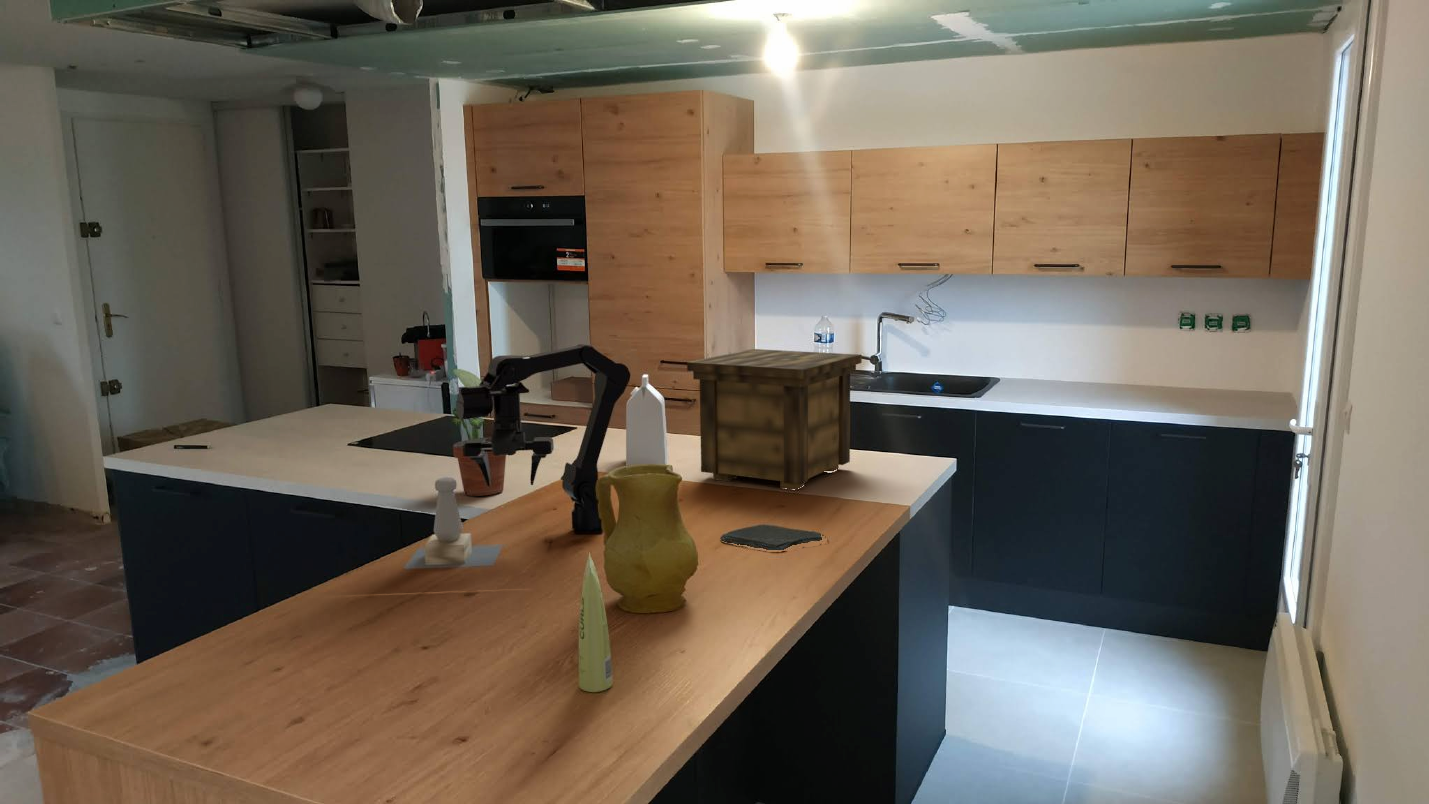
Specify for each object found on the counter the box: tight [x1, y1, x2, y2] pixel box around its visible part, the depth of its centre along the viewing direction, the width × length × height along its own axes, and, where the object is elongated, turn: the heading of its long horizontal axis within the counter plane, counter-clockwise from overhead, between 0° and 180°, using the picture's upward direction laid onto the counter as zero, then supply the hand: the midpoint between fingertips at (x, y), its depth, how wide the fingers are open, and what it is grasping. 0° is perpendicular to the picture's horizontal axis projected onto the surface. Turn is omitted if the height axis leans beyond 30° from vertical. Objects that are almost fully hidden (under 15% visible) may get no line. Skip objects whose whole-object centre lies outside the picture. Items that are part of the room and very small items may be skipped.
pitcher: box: [596, 464, 699, 614], centre depth 181 cm, size 17×19×25 cm
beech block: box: [423, 532, 473, 565], centre depth 208 cm, size 8×8×4 cm
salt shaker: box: [433, 476, 463, 542], centre depth 207 cm, size 6×6×13 cm
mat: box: [403, 544, 504, 570], centre depth 210 cm, size 18×14×1 cm
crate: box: [686, 348, 863, 491], centre depth 275 cm, size 35×35×33 cm
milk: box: [625, 374, 669, 466], centre depth 294 cm, size 12×12×26 cm
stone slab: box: [720, 524, 827, 550], centre depth 217 cm, size 24×17×2 cm
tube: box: [578, 552, 613, 693], centre depth 147 cm, size 6×5×20 cm
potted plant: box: [451, 368, 507, 497], centre depth 260 cm, size 16×15×35 cm
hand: (510, 485), depth 217 cm, fingers open, 9 cm apart
